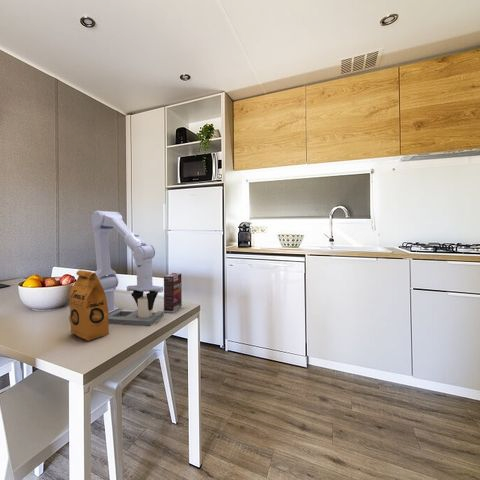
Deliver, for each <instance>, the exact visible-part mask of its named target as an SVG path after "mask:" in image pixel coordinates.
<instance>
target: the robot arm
mask: <svg viewBox="0 0 480 480" xmlns="http://www.w3.org/2000/svg"><path fill="white" fill-rule="evenodd" d="M123 218H124V217H123V216H122V214H121V213H120V212H119V211H108V210H105V211H104V210H103V211H102V210H95V211H94V212H93V214H92V215H91V225H92V228H91V229H92V231H93V236H94V248H95V259H96V270H95V271H94V272H93V273H96V275H97V278H98V279H99V281H100V283H101V285H102V287H103V289H104V292H105V295H106V300H107V306H108V311H109V314H111V313H113V312H115V311H117V310H119V309H120V307H118V306H115V291H116V288H117V287H118V285H119V278H118V276H117V272H116V271H115V270H114V269H113V268H112V266H111V255H110V254H111V253H110V244H109V243H110V240H109V233H110V232H111V231H112V230H114V229H115V231H116V232H118V233H119V235H120V236H122V237H123V238H124V239H123V241H124V243H125V244H126V246H127V247H128V248H129V249H130V250H131V251H132V257H133V259H134V263H135V266H136V285H128V286H126V292H131V293H130V294H131V297H132V299H133V300H134V301H135V303H136V306H137V308H138V298H140V297H142V296H144V293H146V292H147V293H146V295H145V296H147V299H148V309H149V310H152V309H154V308H153V307H154V304H155V300H156V298H157V296H158V294H159V293H164V286H160V285H153V259H154V258H155V255H156V249H155V247H154V245H152V244H148V243H146V242H145V241H144V240H143V239H142V237H141V236H140V234H139V233H137V232H132V231H131V229H130V228H129V227H128V226H127V224H126V223H125V222H124V221H123Z"/></svg>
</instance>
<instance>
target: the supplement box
mask: <svg viewBox="0 0 480 480" xmlns="http://www.w3.org/2000/svg"><path fill="white" fill-rule="evenodd" d="M182 290H183V289H182V273H180V272H173V273H168V274H167V275H164V276H163V311H164V313H169V314H173V313H175V312H176V311H179V309H181V308H182V307H181V306H183V305H182V304H183V302H182V295H183V294H182ZM180 307H181V308H180Z"/></svg>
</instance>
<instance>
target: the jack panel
mask: <svg viewBox="0 0 480 480" xmlns="http://www.w3.org/2000/svg"><path fill="white" fill-rule="evenodd" d="M164 314H165V312H164V310H153V315H152V316H151V317H150V318H138V309H127V308H125V309H124V308H119V309H117V310H115V311H113V312H111V313H109V318H108V324H109V325H110V324H111V325H113V324H114V325H129V326H130V325H131V326H146V327H148V326H149V327H151V326H152V325H154V324H155V323H156V322H158V321H159V320H160V319H161V318H162V317H163V316H164Z"/></svg>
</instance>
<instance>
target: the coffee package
mask: <svg viewBox="0 0 480 480" xmlns="http://www.w3.org/2000/svg"><path fill="white" fill-rule="evenodd" d="M75 275H76V276H78V277H77V279H76V281H75V282H74V284H73V286H72V287H71V289H70V292H69V313H70V314H69V316H68V319H69V324H70V332H71V334H73V335H75V336H77V337H78V338H81V339H83V340H86V341H88V342H90V341H92V340H94V339H95V340H96V339H99V338H100V337H102V338H103V337H106V336H107V335H109V333H110V330H109V327H110V326H109V325H110V324H109V323H108V318H109V314H110V313H109V311H108V306H107V300H106V295H105V292H104V289H103V287H102V285H101V283H100V281H99V279H98V278H97V275H96V273H94V272H93V271H90V270H83V269H82V270H81V269H79V270H78V271H76V274H75Z"/></svg>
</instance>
